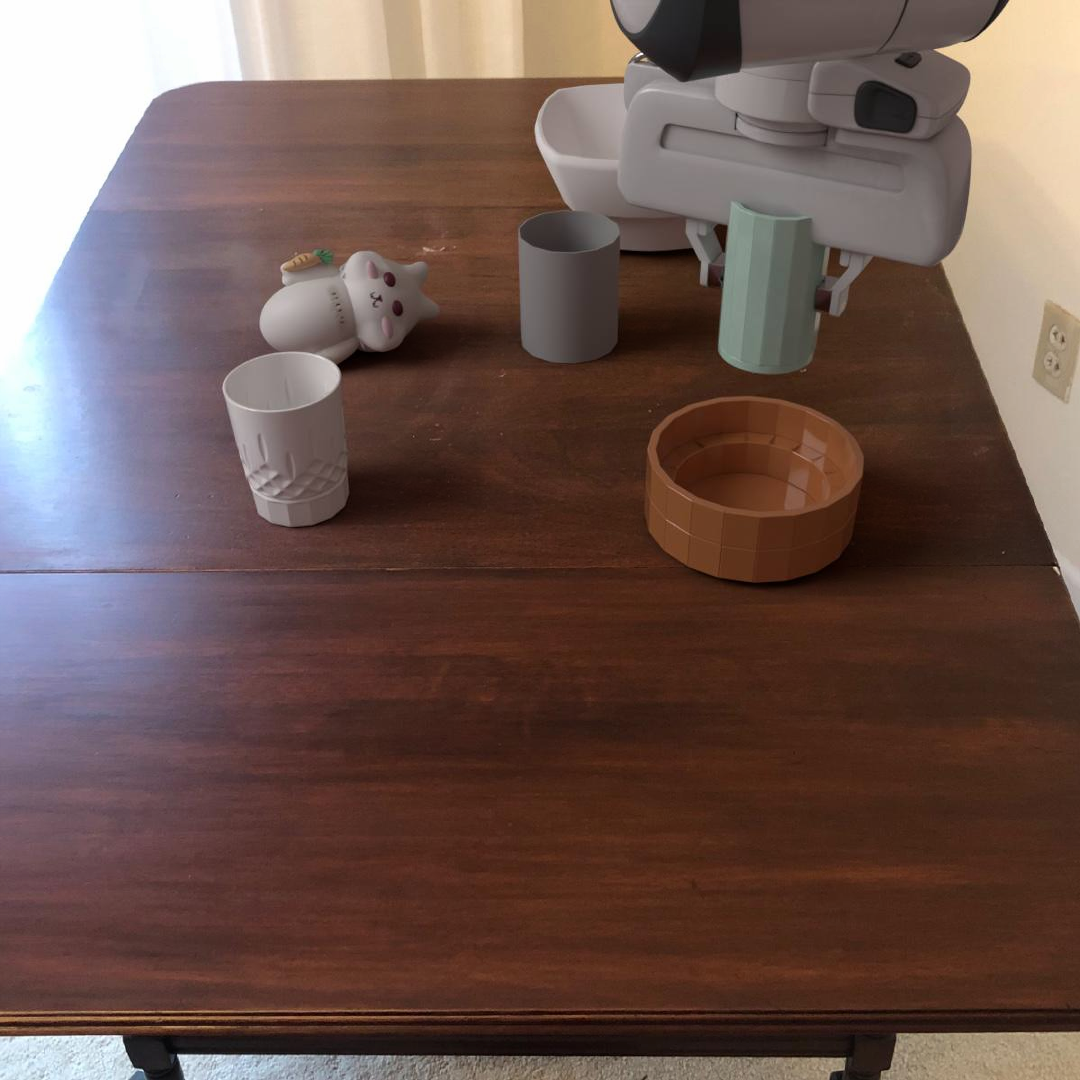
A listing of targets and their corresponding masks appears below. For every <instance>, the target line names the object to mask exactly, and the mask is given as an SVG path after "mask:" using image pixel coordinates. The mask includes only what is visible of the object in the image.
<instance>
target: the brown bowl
mask: <svg viewBox="0 0 1080 1080" xmlns="http://www.w3.org/2000/svg"><path fill="white" fill-rule="evenodd" d="M864 465H865V456H864V453H863V451H862V449H861V447H860V445H859V443H858V441H857V439H856V437H855V436H854V435H853V434H852V433H850V432H849V431H848V430H847V429H846V428H845V427H844V426H842V425H841V424H840V423H839V422H838V421H837V420H836V419H834V418H832V417H830V416H828V415H826V414H824V413H822V412H820V411H818V410H816V409H814V408H812V407H809V406H807V405H806V406H805V405H803V404H799V403H795V402H792V401H788V400H785V399H781V398H774V397H773V398H772V397H763V396H754V395H741V396H740V395H737V396H719V397H716V398H711V399H707V400H703V401H698V402H694V403H691V404H688V405H686V406H684V407H682V408H680V409H678V410H677V411H674V412H672V413H670V414H668V415H667V416H666V417H665V418H664V419H663V420H662V421H661V422H660V423H659V424H658V425H657V426H656V427H655V428H654V429H652V432H651V436H650V439H649V442H648V445H647V447H646V465H645V466H646V467H645V468H646V469H645V488H644V489H645V490H644V511H643V512H644V518H645V521H646V526H647V531H648V532H649V534H650V535H651V536H652V538H653V539H654V540H655V542H656V543H657V544H658V545H659V547H660V548H661V549H662V550H663V551H664V552H665V553H667V554H668V555H670V556H671V557H673V558H674V559H676V561H679V562H680V563H681V564H683V565H685V566H686V567H688V568H690V569H693V570H695V571H698V572H702V573H704V574H706V575H710V576H712V577H715V578H719V579H725V580H732V581H738V582H746V583H754V584H757V583H773V582H774V583H775V582H787V581H791V580H794V579H798V578H802V577H805V576H807V575H811V574H815V573H817V572H819V571H821V570H823V569H824V568H826V567H827V566H829V565H830V564H832V563H834V562H835V561H837V560H838V559H839V558H840V557H841V556H842V554H843V553H844V551H845V550H846V548H847V547H848V545H849V544H850V542H851V541H852V537H853V533H854V528H855V527H854V526H855V523H856V522H855V521H856V515H857V510H858V505H859V498H860V494H861V488H862V482H863V477H864Z"/></svg>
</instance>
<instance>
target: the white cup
mask: <svg viewBox="0 0 1080 1080" xmlns="http://www.w3.org/2000/svg"><path fill="white" fill-rule="evenodd" d="M343 392H344V391H343V382H342V372H341V370H340V368H339V367H338V364H337V365H336V364H335V363H334V362H332V361H331V360H329V359H327V358H325V357H323V356H320V355H317V354H312V353H307V352H280V351H278V352H272V353H267V354H262V355H259V356H257V357H254V358H251V359H248V360H247V361H245V362H243V363H241V364H239V365H238V366H236V367H235V368H233V369H232V370H231V371H230V372H229V373H228V374H227V375H226V376H225V378H224V381H223V383H222V393H223V398H224V401H225V404H226V405H225V406H226V408H227V409H226V410H227V412H228V416H229V420H230V424H231V428H232V432H233V436H234V441H235V444H236V448H237V450H238V453H239V457H240V462H241V465H242V467H243V471H244V475H245V479H246V481H247V482H248V484H249V487H250V491H251V495H252V500H253V502H254V505H255V509H256V511H257V514H258V516H260V518H261V517H262V518H263V519H264V520H266V521H267V522H269V523H270V524H273V525H277V526H282V527H288V528H298V527H306V526H314V525H316V524H319V523H321V522H324V521H328V520H330V519H332V518H333V517H334V516H336V514H338V513H339V512H340V511H341V510H342V509H344V508H345V507H346V504H347V501H348V498H349V495H350V486H349V476H348V449H347V428H346V418H345V406H344V405H345V404H344V395H343V394H344V393H343Z"/></svg>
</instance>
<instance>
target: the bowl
mask: <svg viewBox="0 0 1080 1080" xmlns="http://www.w3.org/2000/svg"><path fill="white" fill-rule="evenodd" d="M627 112H628V111H627V109H626V106H625V103H624V82H623V83H620V82H619V83H604V84H603V83H601V84H588V85H579V86H572V87H565V88H558V89H557V90H555V91H554V92H553V93H551V95H549V96H547V98H545V100H544V103H543V104H542V106H541V107H540V108H539V111H538V114H537V117H536V121H535V124H534V136H535V143H536V145H537V147H538V150H539V153H540V154H541V157H542V158H543V160H544V162H545V164H546V167H547V168H548V169H547V170H548V171H549V173H550V175H551V177H552V179H553V181H554V184H555V185H556V187H557V189H558V191H559V193H560V196H561V198H562V200H563V202H564V203H565V204H566V205H567V206H568V207H569V209H571V211H587V212H591V213H595V214H599V215H603V216H606V217H607V218H609V219H610V220H612V221H614V222H615V223H617V224H618V228H619V231H620V251H621V250H622V251H634V252H663V251H664V252H665V251H674V250H686V249H693V247H692V245H691V242H690V240H689V238H688V236H687V234H686V217H684V216H679V215H675V214H670V213H665V212H660V211H655V210H651V209H646V208H641V207H636V206H632V205H629V204H628V203H627V202H626V200H625V199H624V197H623V196H622V194H621V192H620V190H619V189H618V185H617V175H618V164H619V155H620V148H621V141H622V135H623V130H624V125H625V120H626V116H627Z"/></svg>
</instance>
